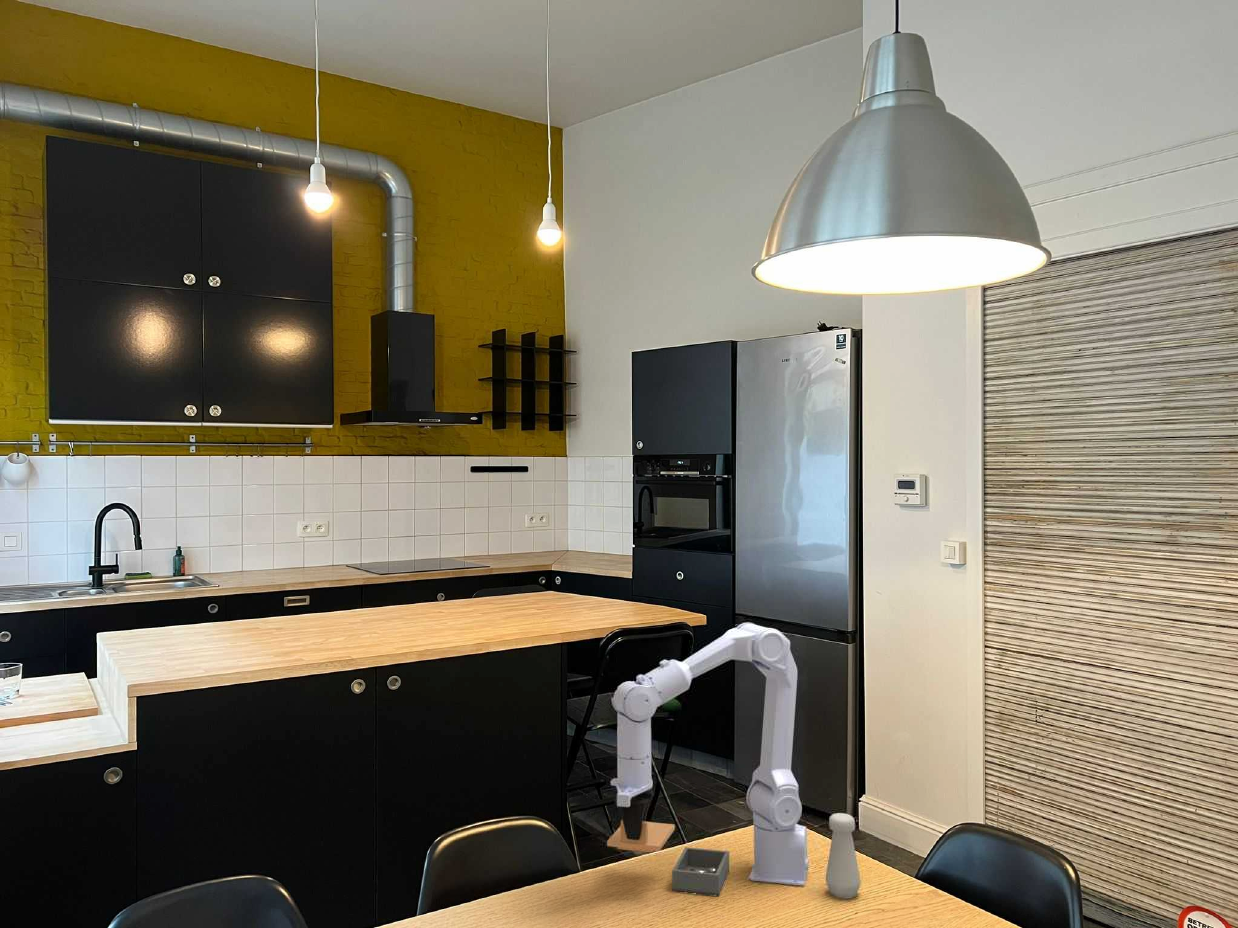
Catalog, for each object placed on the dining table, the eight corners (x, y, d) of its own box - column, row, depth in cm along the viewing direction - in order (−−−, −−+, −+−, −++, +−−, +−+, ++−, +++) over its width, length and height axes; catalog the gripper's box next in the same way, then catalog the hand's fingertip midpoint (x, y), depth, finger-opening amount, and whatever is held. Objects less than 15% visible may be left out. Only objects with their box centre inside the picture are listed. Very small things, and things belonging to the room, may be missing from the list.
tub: (729, 871, 165) (729, 851, 166) (718, 896, 155) (718, 875, 155) (685, 866, 168) (685, 846, 168) (672, 891, 157) (672, 870, 157)
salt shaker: (861, 902, 152) (860, 822, 153) (826, 899, 153) (824, 820, 154) (859, 887, 158) (858, 810, 158) (825, 885, 159) (824, 808, 160)
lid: (674, 833, 164) (674, 804, 165) (659, 856, 153) (659, 825, 153) (626, 828, 167) (626, 800, 167) (607, 850, 155) (607, 820, 156)
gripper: (623, 742, 164) (623, 820, 163) (598, 764, 150) (599, 850, 149) (661, 745, 162) (662, 823, 161) (641, 768, 148) (641, 854, 147)
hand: (634, 836), depth 155 cm, fingers closed on lid
